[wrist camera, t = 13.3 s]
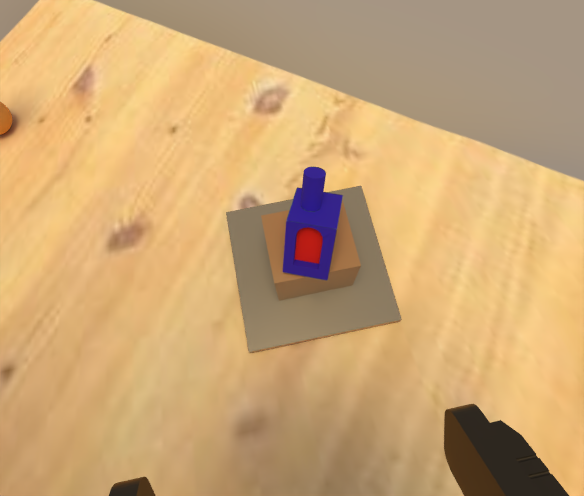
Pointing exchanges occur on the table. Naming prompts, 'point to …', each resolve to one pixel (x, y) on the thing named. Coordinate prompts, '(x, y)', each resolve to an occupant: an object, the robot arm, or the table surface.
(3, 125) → the figurine
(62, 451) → the table surface
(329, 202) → the toy building block
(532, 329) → the table surface
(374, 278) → the plate
